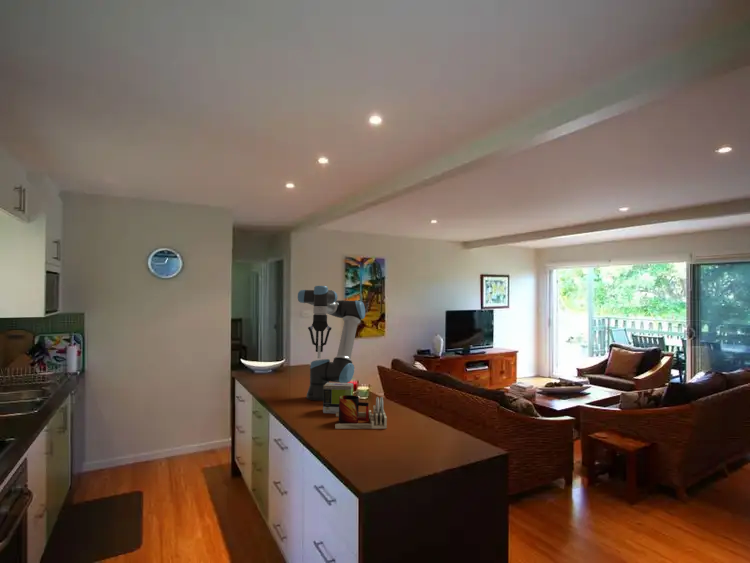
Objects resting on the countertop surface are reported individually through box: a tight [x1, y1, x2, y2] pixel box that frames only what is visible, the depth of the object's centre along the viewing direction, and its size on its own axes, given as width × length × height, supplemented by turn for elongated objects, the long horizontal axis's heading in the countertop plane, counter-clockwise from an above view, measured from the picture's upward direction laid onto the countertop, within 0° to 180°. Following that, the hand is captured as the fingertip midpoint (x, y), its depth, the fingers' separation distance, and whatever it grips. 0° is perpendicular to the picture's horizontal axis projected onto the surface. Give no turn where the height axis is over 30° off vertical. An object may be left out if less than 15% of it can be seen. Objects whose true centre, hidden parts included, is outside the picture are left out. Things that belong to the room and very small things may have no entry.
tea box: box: [322, 382, 354, 414], centre depth 226 cm, size 15×10×15 cm
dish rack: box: [334, 396, 388, 430], centre depth 207 cm, size 22×24×12 cm
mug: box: [338, 394, 369, 424], centre depth 207 cm, size 10×14×12 cm
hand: (319, 358), depth 227 cm, fingers closed
